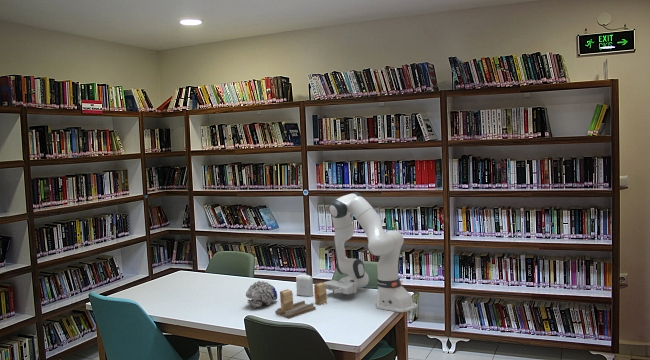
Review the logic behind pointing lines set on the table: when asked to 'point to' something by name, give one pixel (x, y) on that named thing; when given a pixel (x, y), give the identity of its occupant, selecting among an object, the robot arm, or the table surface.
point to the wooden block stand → (292, 305)
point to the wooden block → (320, 293)
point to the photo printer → (304, 285)
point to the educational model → (261, 294)
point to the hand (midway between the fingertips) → (328, 290)
